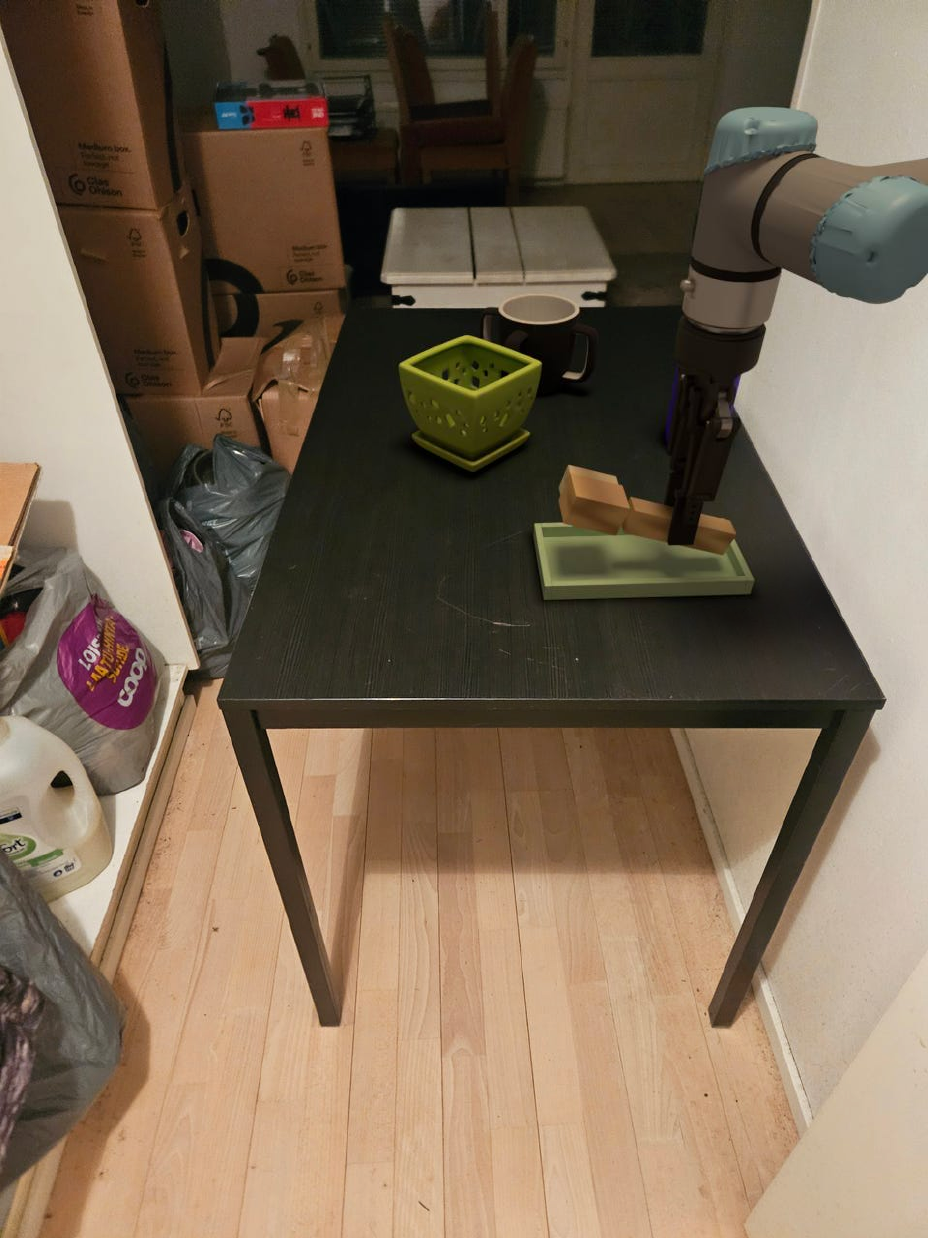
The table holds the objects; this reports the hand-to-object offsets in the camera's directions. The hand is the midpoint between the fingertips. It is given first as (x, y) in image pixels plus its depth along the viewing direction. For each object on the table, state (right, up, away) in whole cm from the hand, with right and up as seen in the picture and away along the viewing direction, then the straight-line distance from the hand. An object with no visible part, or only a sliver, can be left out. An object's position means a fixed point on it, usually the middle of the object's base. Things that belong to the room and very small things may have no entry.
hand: (676, 533), depth 83 cm
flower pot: (-22, +14, +24) cm, 36 cm away
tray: (-3, -3, +4) cm, 6 cm away
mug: (-12, +28, +39) cm, 49 cm away
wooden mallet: (-4, +1, 0) cm, 4 cm away
